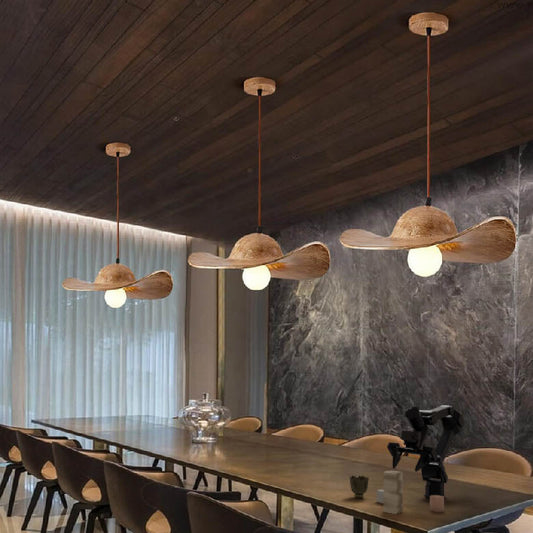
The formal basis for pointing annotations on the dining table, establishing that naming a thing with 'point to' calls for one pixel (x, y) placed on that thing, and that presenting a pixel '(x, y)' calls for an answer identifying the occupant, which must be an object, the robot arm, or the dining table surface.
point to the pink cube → (436, 503)
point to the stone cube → (380, 496)
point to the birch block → (392, 492)
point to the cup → (359, 485)
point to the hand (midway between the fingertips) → (404, 469)
